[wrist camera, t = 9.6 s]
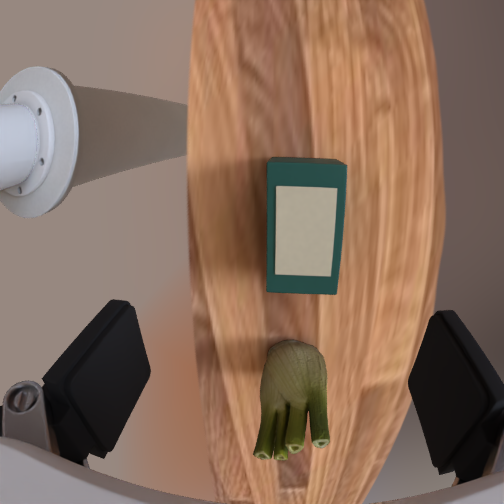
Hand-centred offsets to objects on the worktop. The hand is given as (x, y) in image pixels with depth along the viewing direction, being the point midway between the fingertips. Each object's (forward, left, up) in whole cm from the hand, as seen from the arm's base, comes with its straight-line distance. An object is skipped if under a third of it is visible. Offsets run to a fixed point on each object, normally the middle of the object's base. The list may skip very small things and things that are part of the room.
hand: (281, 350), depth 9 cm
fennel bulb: (+8, -12, -17) cm, 22 cm away
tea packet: (+1, 0, -16) cm, 16 cm away
